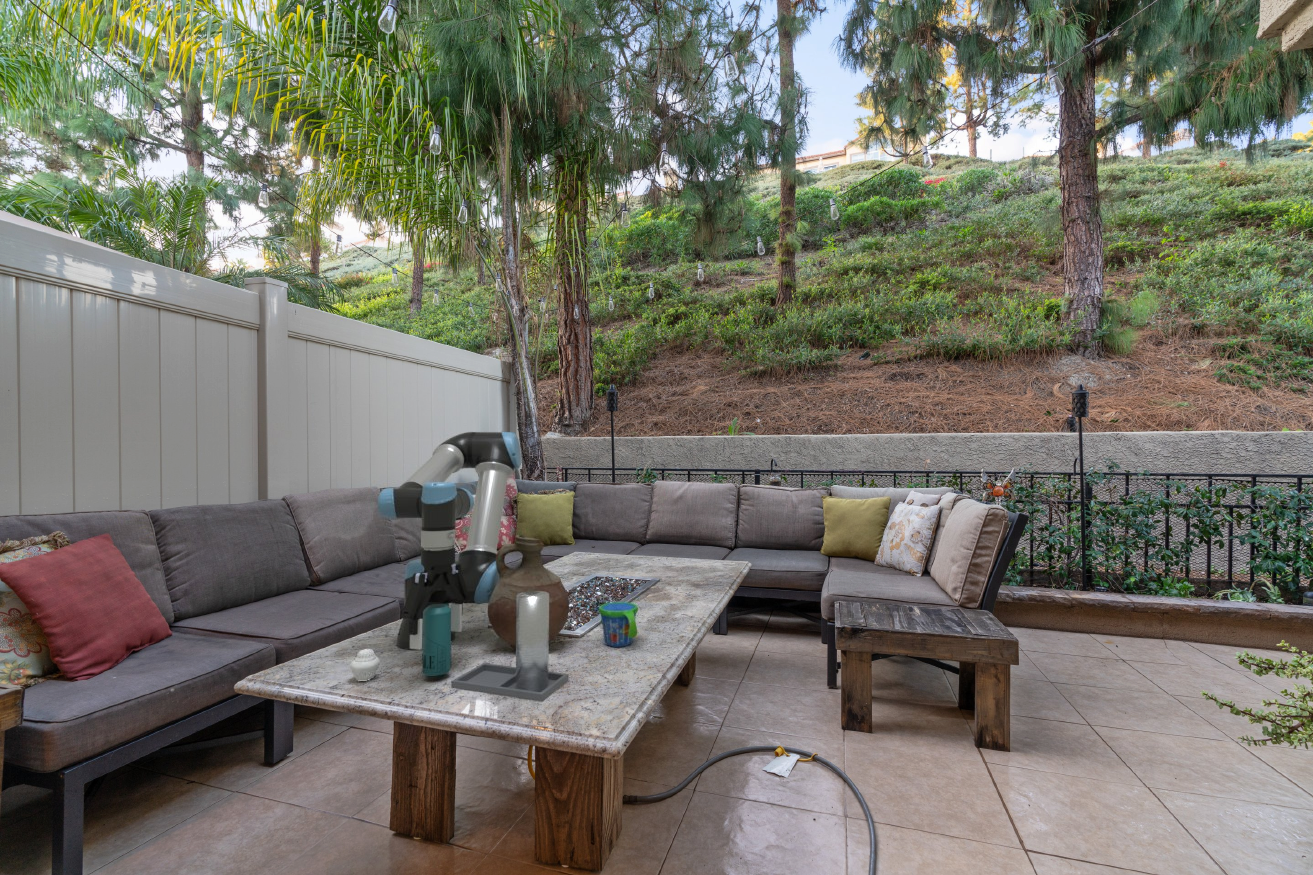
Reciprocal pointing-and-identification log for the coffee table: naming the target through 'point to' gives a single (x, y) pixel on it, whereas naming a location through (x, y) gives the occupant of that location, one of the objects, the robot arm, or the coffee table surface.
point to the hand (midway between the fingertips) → (436, 639)
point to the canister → (532, 641)
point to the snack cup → (618, 623)
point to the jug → (525, 589)
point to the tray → (504, 682)
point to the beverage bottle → (437, 636)
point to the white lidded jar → (365, 665)
